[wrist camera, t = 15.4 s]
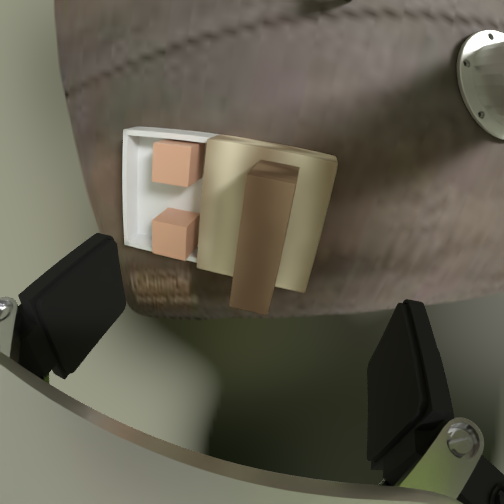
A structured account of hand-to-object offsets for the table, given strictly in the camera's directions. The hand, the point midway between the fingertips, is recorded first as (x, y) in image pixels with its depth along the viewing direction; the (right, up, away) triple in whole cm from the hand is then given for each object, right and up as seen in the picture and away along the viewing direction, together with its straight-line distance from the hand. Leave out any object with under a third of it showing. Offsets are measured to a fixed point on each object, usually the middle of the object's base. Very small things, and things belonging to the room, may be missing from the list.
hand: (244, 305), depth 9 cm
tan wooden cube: (-6, +3, +24) cm, 25 cm away
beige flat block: (+2, +7, +24) cm, 24 cm away
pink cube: (-5, +11, +20) cm, 23 cm away
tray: (-9, +9, +25) cm, 28 cm away
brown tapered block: (+2, +4, +20) cm, 21 cm away
